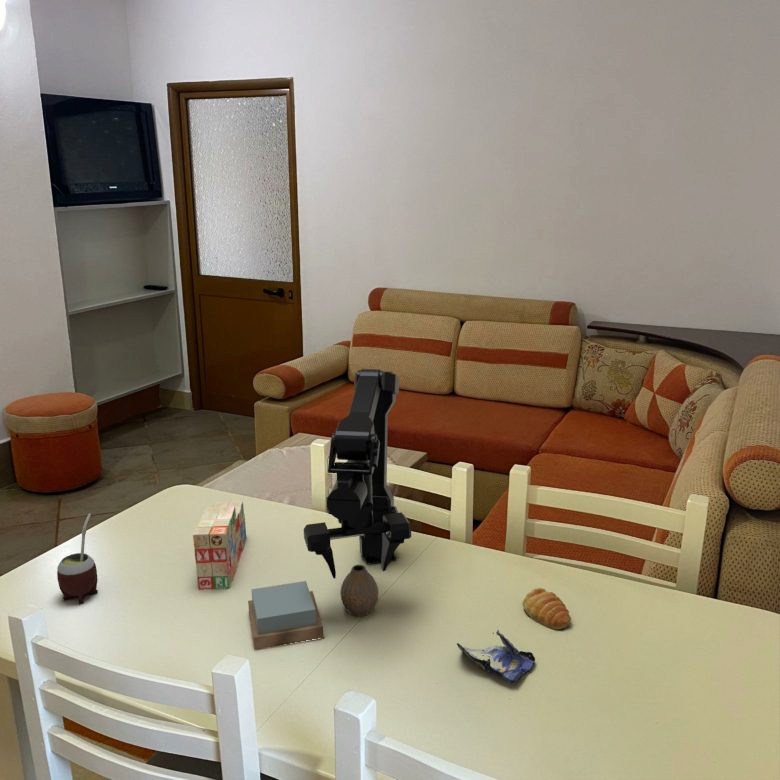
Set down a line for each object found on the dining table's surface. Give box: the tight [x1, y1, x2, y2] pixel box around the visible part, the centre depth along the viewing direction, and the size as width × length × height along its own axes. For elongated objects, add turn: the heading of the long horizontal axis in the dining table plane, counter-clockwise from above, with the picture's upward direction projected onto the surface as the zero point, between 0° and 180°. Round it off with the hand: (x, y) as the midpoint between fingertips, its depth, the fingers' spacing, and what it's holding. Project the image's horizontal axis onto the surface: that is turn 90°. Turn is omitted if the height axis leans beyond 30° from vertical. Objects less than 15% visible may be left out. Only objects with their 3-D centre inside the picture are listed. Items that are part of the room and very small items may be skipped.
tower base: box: [247, 590, 325, 651], centre depth 137 cm, size 12×12×3 cm
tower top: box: [251, 580, 316, 634], centre depth 136 cm, size 10×10×3 cm
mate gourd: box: [56, 513, 99, 606], centre depth 146 cm, size 8×8×15 cm
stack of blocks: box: [192, 500, 247, 591], centre depth 158 cm, size 21×6×12 cm, turn 1°
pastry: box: [522, 587, 572, 631], centre depth 138 cm, size 9×7×4 cm
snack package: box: [456, 629, 536, 685], centre depth 124 cm, size 12×6×12 cm
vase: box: [340, 564, 379, 617], centre depth 140 cm, size 7×7×9 cm
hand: (358, 573), depth 139 cm, fingers open, 9 cm apart
